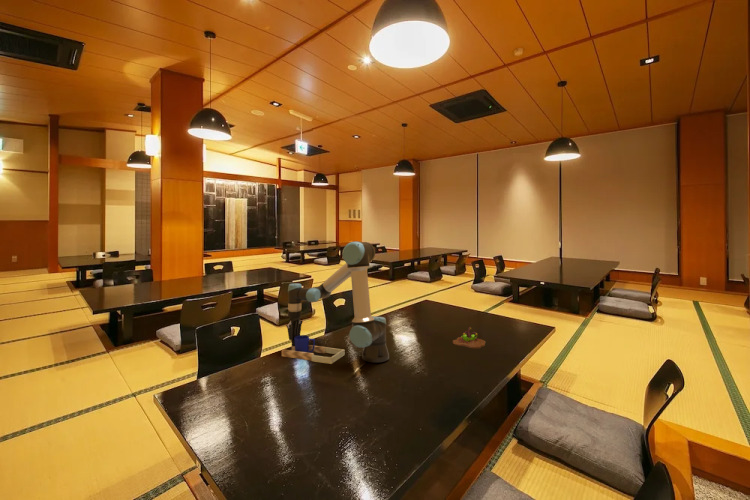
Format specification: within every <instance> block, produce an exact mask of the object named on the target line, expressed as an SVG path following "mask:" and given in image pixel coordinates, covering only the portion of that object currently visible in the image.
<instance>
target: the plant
mask: <svg viewBox="0 0 750 500" xmlns="http://www.w3.org/2000/svg"><path fill="white" fill-rule="evenodd" d="M470 330H472V327H471V326H469V327H468V330H465V332H463V333H462V335H461V336H459V337H457V338H456V339H453V340H452V344H454V345H456V346H459V347H466V348H469V349H481V348H483V347H485V346H486V341H485V340H484V339H481V338H477V337H478V333H477V332H476V331H473V332H471V331H470Z"/></svg>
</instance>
